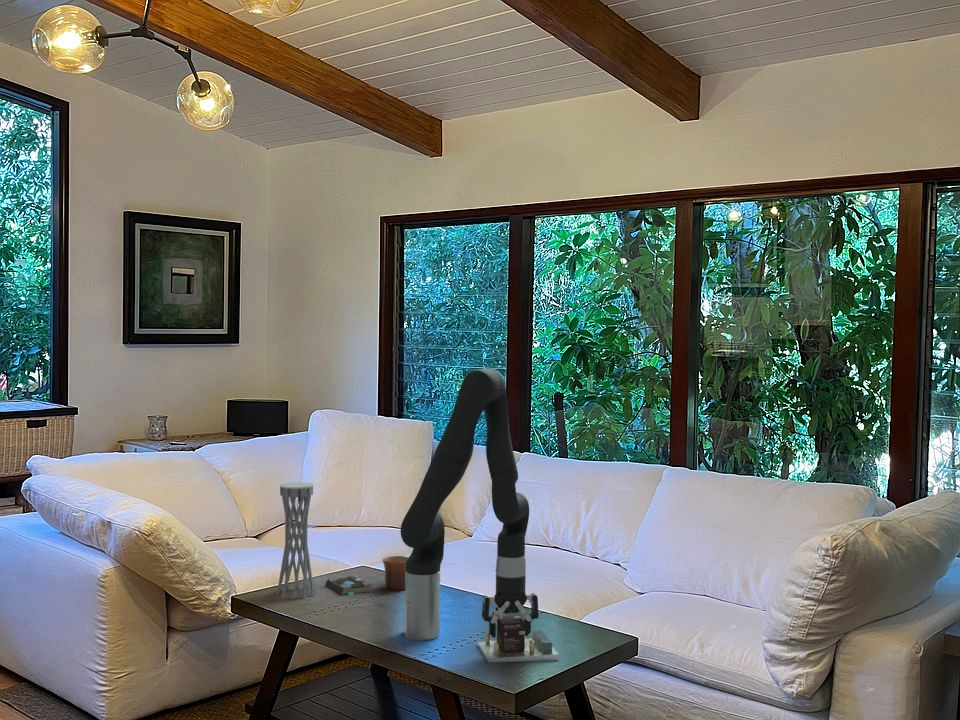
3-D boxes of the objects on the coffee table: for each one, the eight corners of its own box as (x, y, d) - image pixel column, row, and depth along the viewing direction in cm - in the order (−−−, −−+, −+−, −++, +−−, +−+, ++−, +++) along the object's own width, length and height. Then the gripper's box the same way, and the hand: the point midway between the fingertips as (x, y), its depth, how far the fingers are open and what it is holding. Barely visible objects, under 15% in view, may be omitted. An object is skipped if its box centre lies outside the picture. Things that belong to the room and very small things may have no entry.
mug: (411, 594, 298) (412, 562, 298) (383, 596, 297) (383, 562, 296) (407, 584, 310) (407, 553, 310) (380, 585, 308) (380, 553, 308)
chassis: (488, 664, 237) (488, 646, 237) (477, 647, 250) (477, 630, 249) (558, 660, 241) (558, 642, 240) (544, 643, 253) (544, 626, 253)
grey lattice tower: (306, 608, 282) (306, 489, 281) (264, 604, 286) (265, 487, 285) (325, 596, 295) (326, 482, 294) (286, 592, 299) (286, 480, 298)
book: (385, 600, 293) (385, 584, 293) (348, 606, 286) (348, 589, 286) (357, 585, 310) (357, 570, 310) (322, 590, 303) (322, 574, 303)
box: (501, 652, 241) (502, 623, 241) (496, 645, 247) (496, 616, 247) (525, 651, 242) (525, 622, 242) (519, 643, 248) (519, 615, 248)
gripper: (486, 577, 239) (485, 642, 239) (541, 575, 242) (541, 639, 242) (480, 570, 246) (479, 633, 247) (534, 568, 249) (533, 630, 250)
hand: (509, 636), depth 244 cm, fingers open, 8 cm apart
